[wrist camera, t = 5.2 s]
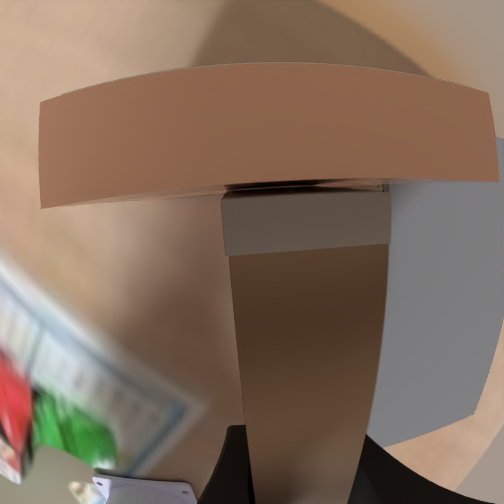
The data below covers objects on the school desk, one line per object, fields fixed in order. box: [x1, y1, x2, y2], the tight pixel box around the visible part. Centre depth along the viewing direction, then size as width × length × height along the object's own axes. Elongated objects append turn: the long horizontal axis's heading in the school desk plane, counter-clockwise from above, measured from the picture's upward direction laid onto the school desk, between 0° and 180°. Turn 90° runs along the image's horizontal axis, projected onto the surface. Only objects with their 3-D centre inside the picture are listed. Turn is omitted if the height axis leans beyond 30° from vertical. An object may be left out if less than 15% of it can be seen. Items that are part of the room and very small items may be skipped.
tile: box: [39, 62, 499, 209], centre depth 9 cm, size 2×9×9 cm, turn 94°
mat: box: [366, 138, 504, 448], centre depth 15 cm, size 20×10×1 cm, turn 4°
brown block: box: [221, 186, 391, 504], centre depth 9 cm, size 15×3×5 cm, turn 4°
